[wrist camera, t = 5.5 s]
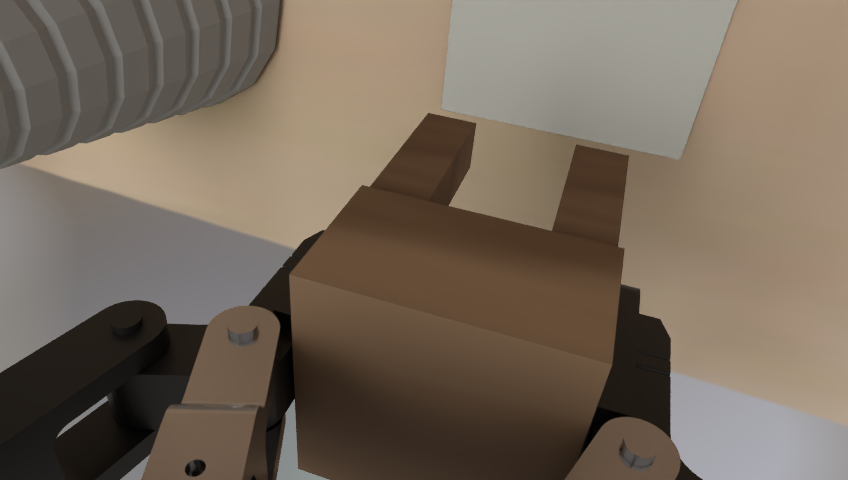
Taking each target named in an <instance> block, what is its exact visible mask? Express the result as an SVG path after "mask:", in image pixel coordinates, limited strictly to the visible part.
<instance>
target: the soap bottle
mask: <svg viewBox="0 0 848 480" xmlns="http://www.w3.org/2000/svg"><path fill="white" fill-rule="evenodd" d="M279 9H280V0H0V169H2V168H5V167H8V166H11V165H14V164H17V163H20V162H23V161H26V160H29V159H31V158H33V157H35V156H36V155H49V154H52V153H55V152H58V151H61V150H64V149H67V148H70V147H73V146H74V145H76V144H78V143H89V142H92V141H95V140H98V139H101V138H104V137H107V136H110V135H111V134H113V133H123V132H126V131H129V130H131V129H134V128H137V127H140V126H143V125H145V124H146V123H156V122H159V121H162V120H165V119H168V118H170V117H173V116H174V115H183V114H186V113H189V112H191V111H194V110H197V109H199V108H201V107H209V106H212V105H215V104H218V103H221V102H223V101H225V100H227V99H228V98H230V97H232V96H234V95H236V94H237V93H239V92H241V91H243V90H245V89H246V88H248V87H250V86H252V85H253V84H254V83H255V81H256V79H257V78H258V76H259V74H260V73H261V71H262V69H263V68H264V66H265V64H266V63H267V61H268V59H269V57H270V56H271V54H272V52H273V51H274V48H275V46H276V37H277V28H278V18H279Z"/></svg>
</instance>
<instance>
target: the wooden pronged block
mask: <svg viewBox="0 0 848 480" xmlns="http://www.w3.org/2000/svg"><path fill="white" fill-rule="evenodd" d="M475 128H476V123H472V122H468V121H463V120H458V119H454V118H449V117H444V116H440V115H435V114H430V113H428V114H427V116H426V117H425V118H424V119H423V121H422V122H421V123H420V124H419V126H418V127H417V128H416V129H415V131H414V132H413V133H412V134H411V136H410V137H409V138H408V139H407V141H406V142H405V143H404V145H403V146H402V147H401V148H400V150H399V151H398V152H397V153H396V155H395V156H394V157H393V158H392V160H391V161H390V162H389V163H388V165H387V166H386V167H385V168H384V170H383V171H382V172H381V174H380V175H379V176H378V177H377V179H376V180H375V181H374V182H373V184H372V185H371V186H370V187H367V186H363V185H362V186H361V187H360V188H359V190H358V191H357V192H356V193H355V195H354V196H353V197H352V198H351V199H350V201H349V202H348V203H347V204H346V206H345V207H344V208H343V209H342V210H341V212H340V213H339V214H338V215H337V217H336V218H335V219H334V220H333V221H332V223H331V224H330V225H329V226H328V228H327V229H326V230H325V231H324V232H323V234H322V235H321V236H320V237H319V239H318V240H317V241H316V242H315V243H314V245H313V246H312V247H311V248H310V250H309V251H308V252H307V253H306V254H305V256H304V257H303V258H302V259H301V261H300V262H299V263H298V264H297V265H296V267H295V268H294V269H293V270H292V272H291V273H290V274H289V283H290V304H291V325H292V347H293V368H294V389H295V410H296V430H297V431H296V432H297V451H298V469H301V470H304V471H306V472H309V473H312V474H315V475H318V476H321V477H324V478H327V479H330V480H565V478H566V477H567V475H568V474H569V473H570V471H571V470H572V468H573V467H574V465H575V464H576V463H577V460H578V458H579V455H580V452H581V449H582V447H583V444H584V441H585V438H586V436H587V433H588V430H589V427H590V424H591V422H592V419H593V416H594V413H595V411H596V408H597V405H598V402H599V400H600V397H601V394H602V391H603V389H604V386H605V383H606V380H607V378H608V375H609V372H610V369H611V367H612V362H613V352H614V343H615V333H616V324H617V314H618V305H619V295H620V286H621V276H622V267H623V257H624V249H623V248H619V247H618V242H619V233H620V225H621V217H622V208H623V200H624V192H625V184H626V175H627V167H628V159H629V156H627V155H622V154H618V153H613V152H608V151H604V150H599V149H594V148H590V147H585V146H580V145H576V148H575V151H574V155H573V158H572V162H571V165H570V169H569V172H568V176H567V180H566V183H565V187H564V190H563V194H562V197H561V201H560V205H559V208H558V212H557V215H556V219H555V222H554V226H553V229H552V231H549V230H545V229H541V228H537V227H532V226H528V225H524V224H520V223H516V222H512V221H508V220H504V219H499V218H495V217H491V216H487V215H483V214H479V213H475V212H471V211H466V210H462V209H458V208H454V207H450V206H449V204H450V202H451V200H452V198H453V197H454V195H455V193H456V191H457V189H458V188H459V186H460V184H461V182H462V180H463V179H464V177H465V175H466V173H467V172H468V170H469V168H470V163H471V156H472V149H473V142H474V135H475Z"/></svg>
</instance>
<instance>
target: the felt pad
mask: <svg viewBox="0 0 848 480" xmlns="http://www.w3.org/2000/svg"><path fill="white" fill-rule="evenodd" d="M736 3H737V0H452V9H451V18H450V28H449V38H448V48H447V57H446V67H445V77H444V87H443V96H442V106H441V109H442V110H446V111H451V112H456V113H461V114H465V115H470V116H475V117H479V118H484V119H489V120H494V121H498V122H503V123H508V124H513V125H517V126H522V127H527V128H532V129H536V130H541V131H546V132H550V133H555V134H560V135H565V136H569V137H574V138H579V139H584V140H588V141H593V142H598V143H603V144H607V145H612V146H617V147H621V148H626V149H631V150H636V151H640V152H645V153H650V154H655V155H659V156H664V157H669V158H674V159H678V160H680V159H681V156H682V154H683V151H684V148H685V145H686V142H687V140H688V137H689V134H690V131H691V129H692V126H693V123H694V120H695V117H696V115H697V112H698V109H699V106H700V104H701V101H702V98H703V95H704V92H705V90H706V87H707V84H708V81H709V78H710V76H711V73H712V70H713V67H714V65H715V62H716V59H717V56H718V53H719V51H720V48H721V45H722V42H723V39H724V37H725V34H726V31H727V28H728V26H729V23H730V20H731V17H732V14H733V12H734V9H735V6H736Z"/></svg>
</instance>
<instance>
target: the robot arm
mask: <svg viewBox="0 0 848 480" xmlns="http://www.w3.org/2000/svg"><path fill="white" fill-rule="evenodd" d="M323 232H324V230H322V231H320V232H318V233H316V234H315V235H313V236H311V237H309V238H307V239H305V240H304V241H303V242H302V243H301V244H300V245H299V247H298V248H297V249H296V250H295V251H294V253H293V254H292V257H289V258H288V260H287V261H286V262H285V263H284V265H283V267H282V268H280V269H279V270H278V271H277V273H276V274H275V275H274V276H273V277H272V279H271V280H270V281H269V282H268V283H267V285H266V286H265V287H264V288H263V289H262V290H261V292H260V293H259V294H258V295H257V296H256V297H255V299H254V300H253V301H252V302H251V303H250V305H249V306H238V307H234V308H230V309H228V310H225V311H223V312H221V313H219V314H218V315H217V316H215V318H213V319H212V320H211V321H210V323H209V324H208V325H188V324H167V320H166V315H165V313H164V311H163V310H162V308H161V307H159V306H158V305H156V304H154V303H151V302H148V301H140V300H134V301H125V302H121V303H117V304H114V305H112V306H109V307H108V308H106V309H104V310H102V311H101V312H99V313H97V314H96V315H94V316H92V317H91V318H89V319H87V320H86V321H84V322H82V323H81V324H79V325H78V326H76V327H75V328H73V329H71V330H69V331H68V332H66V333H65V334H63V335H61V336H60V337H58V338H56V339H55V340H53V341H51V342H50V343H48V344H47V345H45V346H43V347H42V348H40V349H38V350H37V351H35V352H34V353H32V354H30V355H29V356H27V357H25V358H24V359H22V360H21V361H19V362H17V363H16V364H14V365H12V366H11V367H9V368H8V369H6V370H4V371H3V372H1V373H0V480H120V479H121V478H122V477H124V476H125V475H126V474H127V473H128V472H130V471H131V470H132V469H133V468H134V467H135V466H136V465H138V464H139V463H140V462H141V461H142V460H144V459H145V458H146V457H147V456H148V455H149V454H150V457H149V459H148V462H147V465H146V468H145V471H144V474H143V476H142V479H141V480H276V478H277V472H278V466H279V460H280V454H281V448H282V441H283V435H284V429H285V422H286V415H285V412H286V411H287V409H288V408H289V406H290V405H291V403H292V402H293V400H294V399H295V389H294V368H293V347H292V325H291V304H290V283H289V274H290V273H291V272H292V270H293V269H294V268H295V267H296V265H297V264H298V263H299V262H300V261H301V259H302V258H303V257H304V256H305V254H306V253H307V252H308V251H309V250H310V248H311V247H312V246H313V245H314V243H315V242H316V241H317V240H318V239H319V237H320V236H321V235H322V234H323ZM639 304H640V289H638V288H634V287H630V286H626V285H622V284H621V286H620V295H619V305H618V314H617V324H616V333H615V343H614V352H613V362H612V367H611V369H610V372H609V375H608V378H607V380H606V383H605V386H604V389H603V391H602V394H601V397H600V400H599V402H598V405H597V408H596V411H595V413H594V416H593V419H592V422H591V424H590V427H589V430H588V433H587V436H586V438H585V441H584V444H583V447H582V449H581V452H580V455H579V458H578V460H577V463H576V464H575V465H574V467H573V468H572V470H571V471H570V473H569V474H568V475H567V477H566V478H565V480H703V479H701V478H699V477H698V476H697V475H696V474H694V473H693V472H692V471H691V470H690V469H689V468H688V467H687V466H686V465H685V464H684V463H683V462H682V460H681V459H680V455H679V453H678V450H677V448H676V446H675V444H674V443H673V442H672V440H671V435H670V354H671V339H670V337H669V335H668V333H667V331H666V329H665V327H664V325H663V324H662V322H661V320H660V319H657V318H654V317H650V316H646V315H642V314H639ZM105 396H107V398H108V401H107V402H105V403H104V404H102V405H101V406H100V407H98V408H97V409H96V410H94V411H93V412H92V413H90V414H89V415H87V416H86V417H85V418H83V419H82V420H81V421H79V422H78V423H77V424H75V425H74V426H73V427H71V428H70V429H68V430H67V431H66V432H64V433H63V434H62V435H60V436H59V437H57V435H58V434H59V432H60V431H61V430H62V429H63V428H64V427H65V426H66V425H67V424H68V423H70V422H71V421H72V420H74V419H75V418H77V417H78V416H79V415H81V414H82V413H83V412H85V411H86V410H88V409H89V408H90V407H92V406H93V405H95V404H96V403H97V402H99V401H100V400H101V399H103V398H104V397H105ZM56 437H57V438H56Z"/></svg>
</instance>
